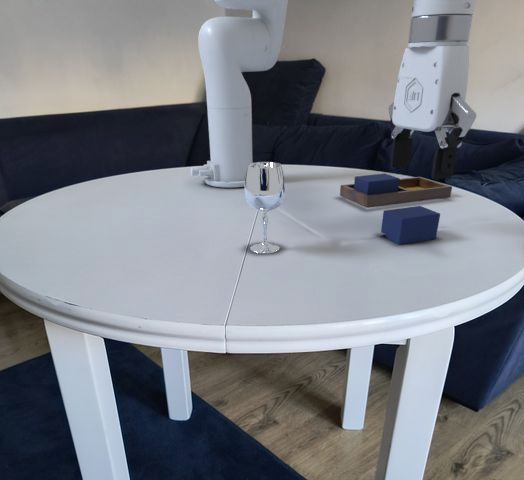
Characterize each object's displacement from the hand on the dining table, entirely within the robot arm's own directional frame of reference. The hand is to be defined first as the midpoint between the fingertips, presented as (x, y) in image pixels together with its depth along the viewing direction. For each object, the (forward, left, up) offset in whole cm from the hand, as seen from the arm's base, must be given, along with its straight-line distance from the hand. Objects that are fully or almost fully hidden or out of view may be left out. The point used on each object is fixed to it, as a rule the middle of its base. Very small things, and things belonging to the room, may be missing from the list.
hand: (419, 171), depth 72 cm
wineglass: (-23, +4, -10) cm, 26 cm away
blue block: (+7, +21, -9) cm, 24 cm away
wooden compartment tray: (+12, +21, -10) cm, 26 cm away
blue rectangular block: (0, 0, -10) cm, 10 cm away
